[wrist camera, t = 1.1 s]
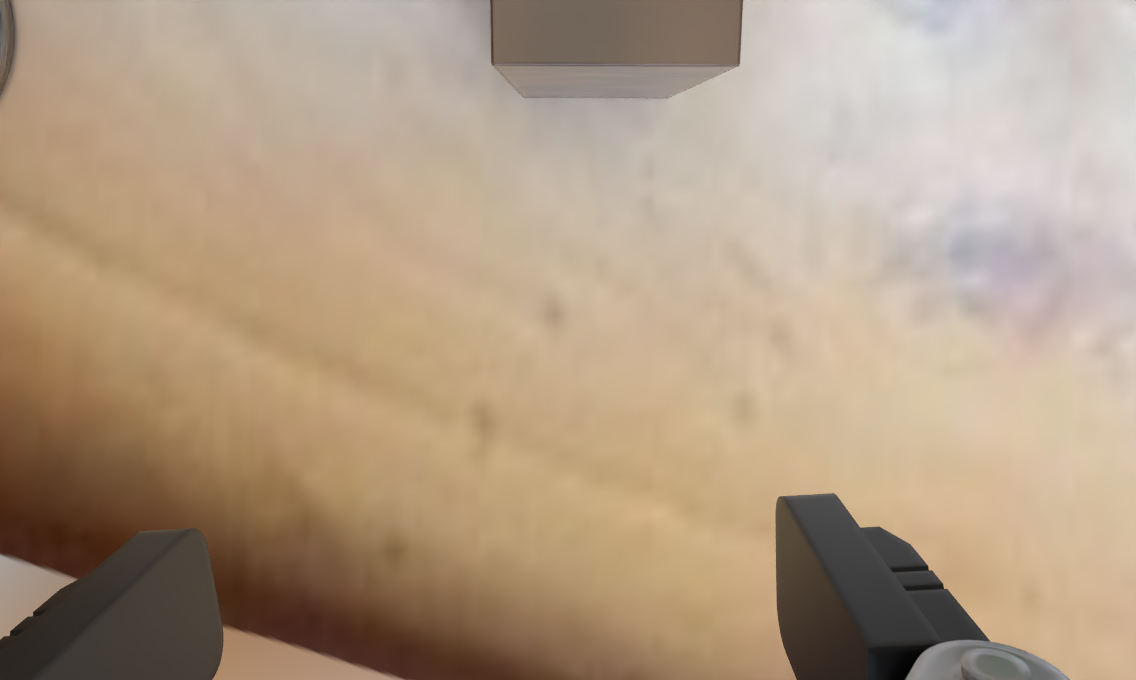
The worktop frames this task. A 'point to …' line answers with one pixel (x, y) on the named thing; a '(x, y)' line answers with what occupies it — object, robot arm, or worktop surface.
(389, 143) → the worktop surface
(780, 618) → the robot arm
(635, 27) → the walnut block
